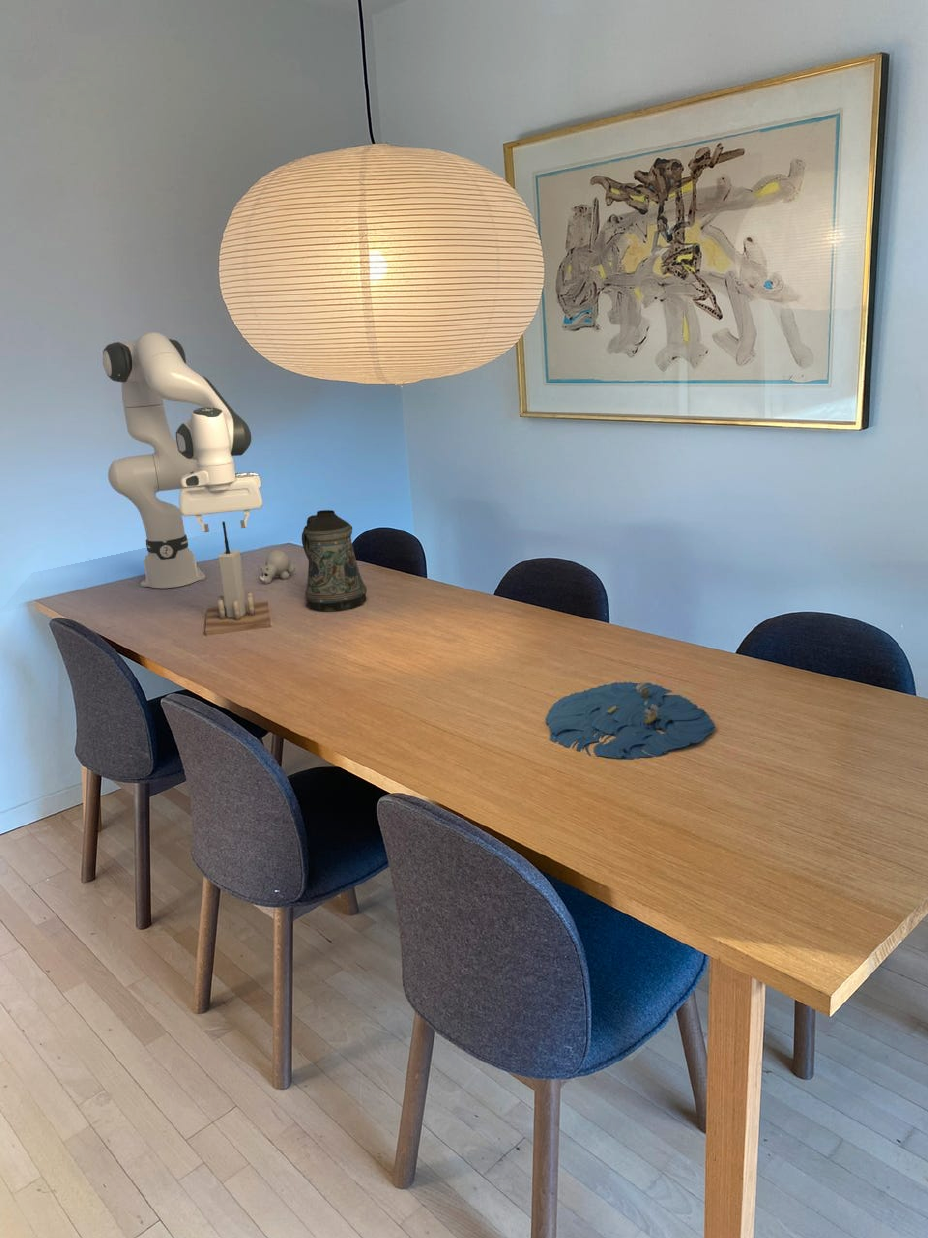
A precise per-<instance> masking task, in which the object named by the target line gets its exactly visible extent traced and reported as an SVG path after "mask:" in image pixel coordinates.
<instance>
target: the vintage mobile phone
mask: <svg viewBox="0 0 928 1238" xmlns="http://www.w3.org/2000/svg"><path fill="white" fill-rule="evenodd" d="M226 526H227V525H226V521H222V528H223V534H224V545H225V551H224V552H222V553H221V554H219V555H218V564H219V567H220V569H219V570H220V575H221V576H220V577H221V582H222V589H223V597H224V604H225V606H226V609H227V616H228V618H235V616H234V610H233V603H232V601H234V600H238V605H239V612H240V618H241V617H243V616H244V615H245V614H246V613H248V607H247V604H246V603H247V602H246V596H245V589H244V582H243V581H244V580H243V573H242V570H243V569H242V558H241V551H240V550H239V549H238V550H237V549H236V550H230V545H229V540H228V536H227V527H226Z"/></svg>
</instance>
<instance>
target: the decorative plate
mask: <svg viewBox="0 0 928 1238" xmlns="http://www.w3.org/2000/svg"><path fill="white" fill-rule="evenodd" d="M673 692H674V691H672V690H671V689H668V688H665V687H664V686H662V685H659V684H653V683H650V682H632V681H628V682H627V681H623V682H622V681H620V682H617V681H614V682H612V683H610V684H609V683H608V684H603V685H598V686H596V687H590V688H588V689H584V690H583V691H578V692H575V693H570V694H569V695H565V696H563V697H561V698H560V699H558V701H556V702H554V703H553V704H552V705H551V707H550V709H548V713H547V715H546V717H545V718H544V719H545V723H546V724H548V729H549V731H550V735H549V737H550V738H549V740H550V741H551V742H554V743H558V745H559V744H560V745H561V746H564V747H566V748H567V749H570V748H571V746H572V750H573V749H574V748H575V747H576V752H578V751H579V752H581V751H584V750H585V752H586V754H587V755H588V756H589V757H592V755H591V753H590V749H589V747H590V745H591V743H597V744H596V745H594V747H593V754H594V756H595V757H606V758H607V757H608V758H613V759H622V760H631V759H633V760H637V759H638V758H645V757H647V758H650V757H651V758H652V757H662V755H663V754H665V755H669V753H668V751H670V750H671V751H672V750H674V749H679V748H686V747H688V746H689V745H691V744H698V743H700V742H702V741H703V740H704V739H705V737H707V736H708V735H710V734H712V733H713V731H715V728H716V726H715V723H714V722H713V721H712V719H711V716H710V715H709V714H708V713H707V711H706V710H705V709H704V708H702V707H701V708H700V707H699V706H698V705H697V704H696V703H695V704H694V703H693V702H692V701H691V700H690V699H688V698H686V697H683V696H682V695H680V694H669V693H673ZM658 730H660V731H661V732H660V731H658ZM606 735H608V736H607V737H605V738H604V740H603V737H604V736H606ZM613 736H615V738H612V739H610V740H609V738H611V737H613ZM600 738H601V740H603V741H601V742H600ZM608 740H609V741H608ZM607 741H608V742H607ZM598 742H599V743H598ZM606 742H607V743H606Z"/></svg>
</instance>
